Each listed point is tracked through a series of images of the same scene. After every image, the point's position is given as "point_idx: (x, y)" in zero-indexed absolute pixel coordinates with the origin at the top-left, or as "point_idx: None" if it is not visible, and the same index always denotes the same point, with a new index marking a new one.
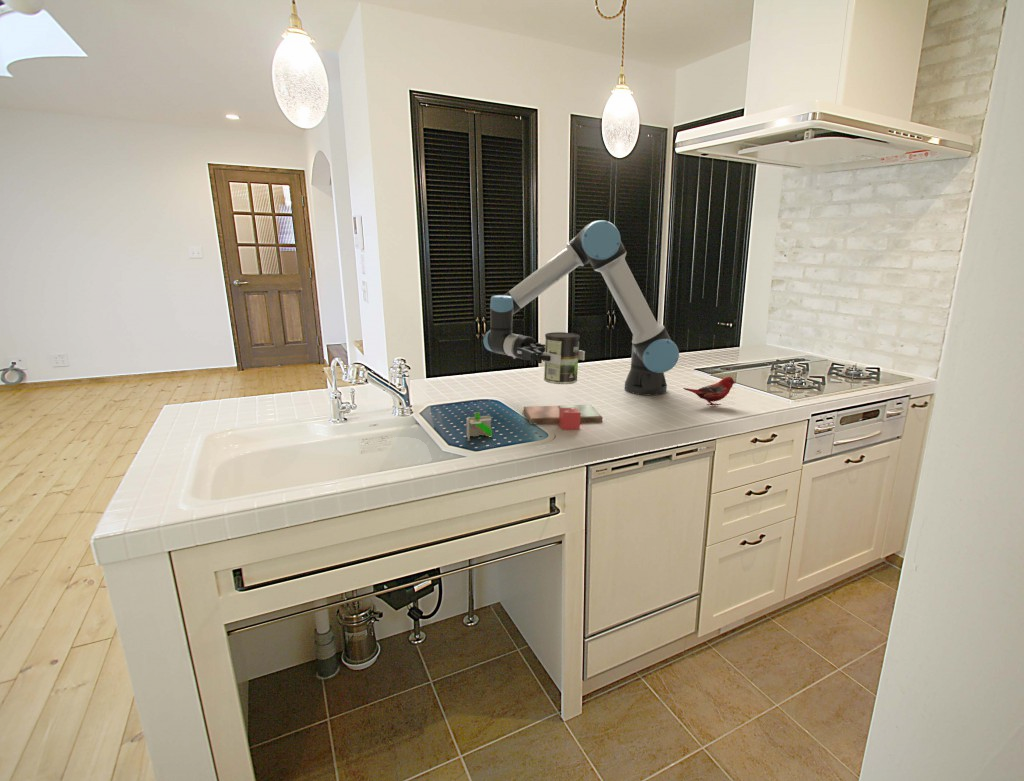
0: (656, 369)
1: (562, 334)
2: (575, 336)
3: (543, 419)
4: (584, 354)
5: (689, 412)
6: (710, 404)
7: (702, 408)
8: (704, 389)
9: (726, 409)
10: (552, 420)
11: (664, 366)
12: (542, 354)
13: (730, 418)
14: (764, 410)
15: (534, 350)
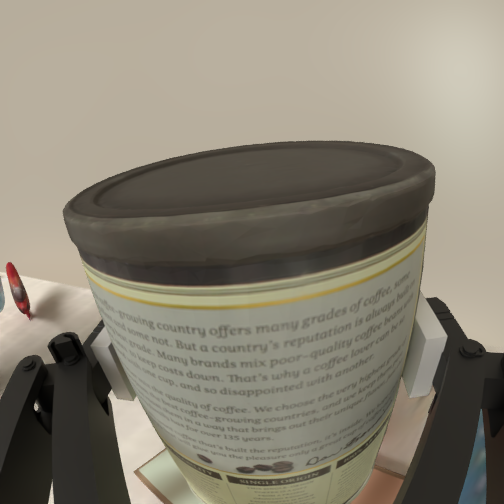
0: (4, 300)
1: (195, 178)
2: (236, 148)
3: (398, 474)
4: None
5: (72, 325)
6: (29, 316)
7: (45, 321)
8: (23, 294)
9: (43, 303)
10: None
11: (1, 285)
12: (449, 348)
13: (87, 290)
14: (40, 282)
15: (461, 483)
